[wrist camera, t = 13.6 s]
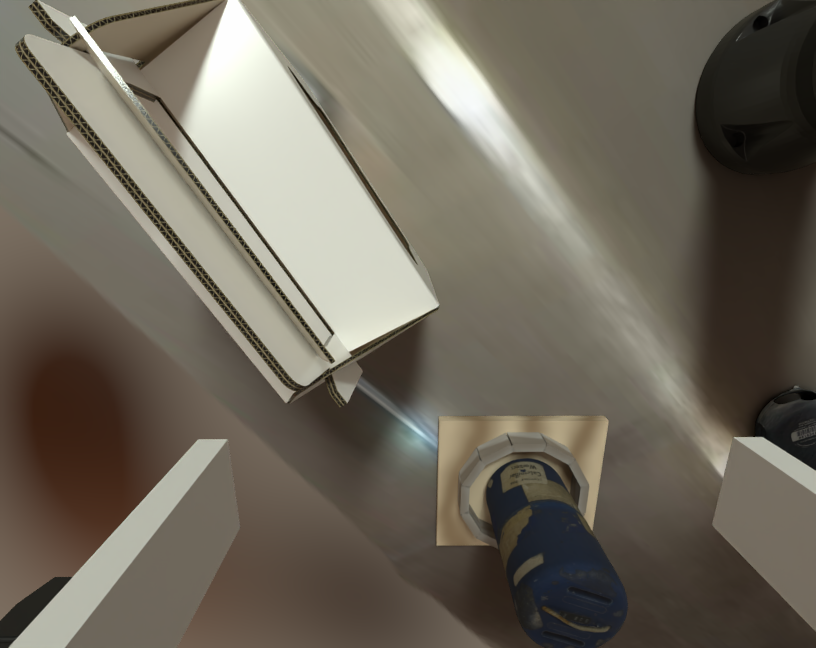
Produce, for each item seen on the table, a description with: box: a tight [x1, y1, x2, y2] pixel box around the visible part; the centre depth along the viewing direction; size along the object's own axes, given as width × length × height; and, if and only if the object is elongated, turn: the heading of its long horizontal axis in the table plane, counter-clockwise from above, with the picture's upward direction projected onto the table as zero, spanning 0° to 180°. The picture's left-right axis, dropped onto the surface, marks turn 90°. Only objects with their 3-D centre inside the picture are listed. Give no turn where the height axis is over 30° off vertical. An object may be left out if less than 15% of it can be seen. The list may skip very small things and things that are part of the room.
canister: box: [486, 458, 628, 648], centre depth 41 cm, size 10×10×18 cm
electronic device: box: [755, 385, 816, 471], centre depth 48 cm, size 9×6×15 cm
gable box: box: [15, 0, 439, 408], centre depth 29 cm, size 22×13×28 cm, turn 33°
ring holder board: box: [436, 416, 609, 549], centre depth 49 cm, size 20×18×4 cm
